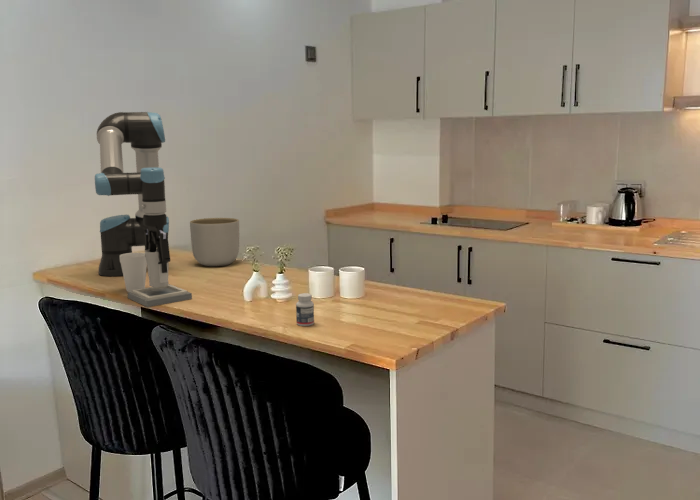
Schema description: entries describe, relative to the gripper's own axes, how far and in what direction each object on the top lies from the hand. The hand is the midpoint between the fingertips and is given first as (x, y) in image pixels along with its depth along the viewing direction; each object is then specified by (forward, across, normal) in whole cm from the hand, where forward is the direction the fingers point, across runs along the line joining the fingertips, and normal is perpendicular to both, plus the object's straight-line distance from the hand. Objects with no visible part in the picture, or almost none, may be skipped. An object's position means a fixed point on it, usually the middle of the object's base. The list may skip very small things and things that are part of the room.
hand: (158, 280), depth 223 cm
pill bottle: (+7, +58, +19) cm, 61 cm away
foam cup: (+7, -18, -1) cm, 19 cm away
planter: (+7, -41, +45) cm, 61 cm away
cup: (+2, 0, 0) cm, 2 cm away
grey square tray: (+7, 0, 0) cm, 7 cm away
